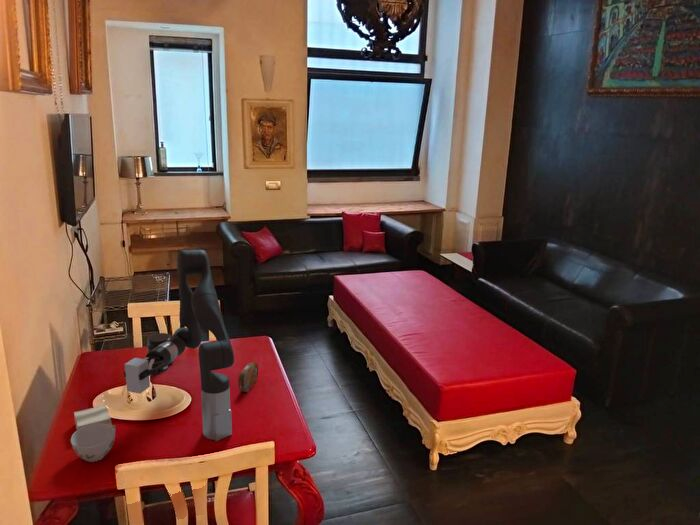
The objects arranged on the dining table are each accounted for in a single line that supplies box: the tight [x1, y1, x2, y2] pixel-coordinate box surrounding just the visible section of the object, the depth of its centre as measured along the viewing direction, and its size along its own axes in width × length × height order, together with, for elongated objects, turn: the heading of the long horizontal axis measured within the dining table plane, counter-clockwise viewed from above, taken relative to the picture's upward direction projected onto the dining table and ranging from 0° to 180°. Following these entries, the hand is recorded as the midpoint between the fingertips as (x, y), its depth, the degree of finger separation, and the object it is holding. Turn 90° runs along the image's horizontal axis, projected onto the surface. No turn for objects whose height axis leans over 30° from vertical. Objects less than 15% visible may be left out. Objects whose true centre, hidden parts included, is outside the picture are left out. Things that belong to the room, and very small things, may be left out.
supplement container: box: [146, 332, 175, 367], centre depth 229 cm, size 10×10×12 cm
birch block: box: [73, 404, 112, 431], centre depth 183 cm, size 10×10×5 cm
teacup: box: [70, 424, 116, 463], centre depth 168 cm, size 15×12×8 cm
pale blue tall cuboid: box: [124, 357, 151, 394], centre depth 181 cm, size 5×5×10 cm
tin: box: [237, 362, 259, 393], centre depth 213 cm, size 15×3×8 cm, turn 168°
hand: (132, 376), depth 179 cm, fingers closed on pale blue tall cuboid, 5 cm apart
